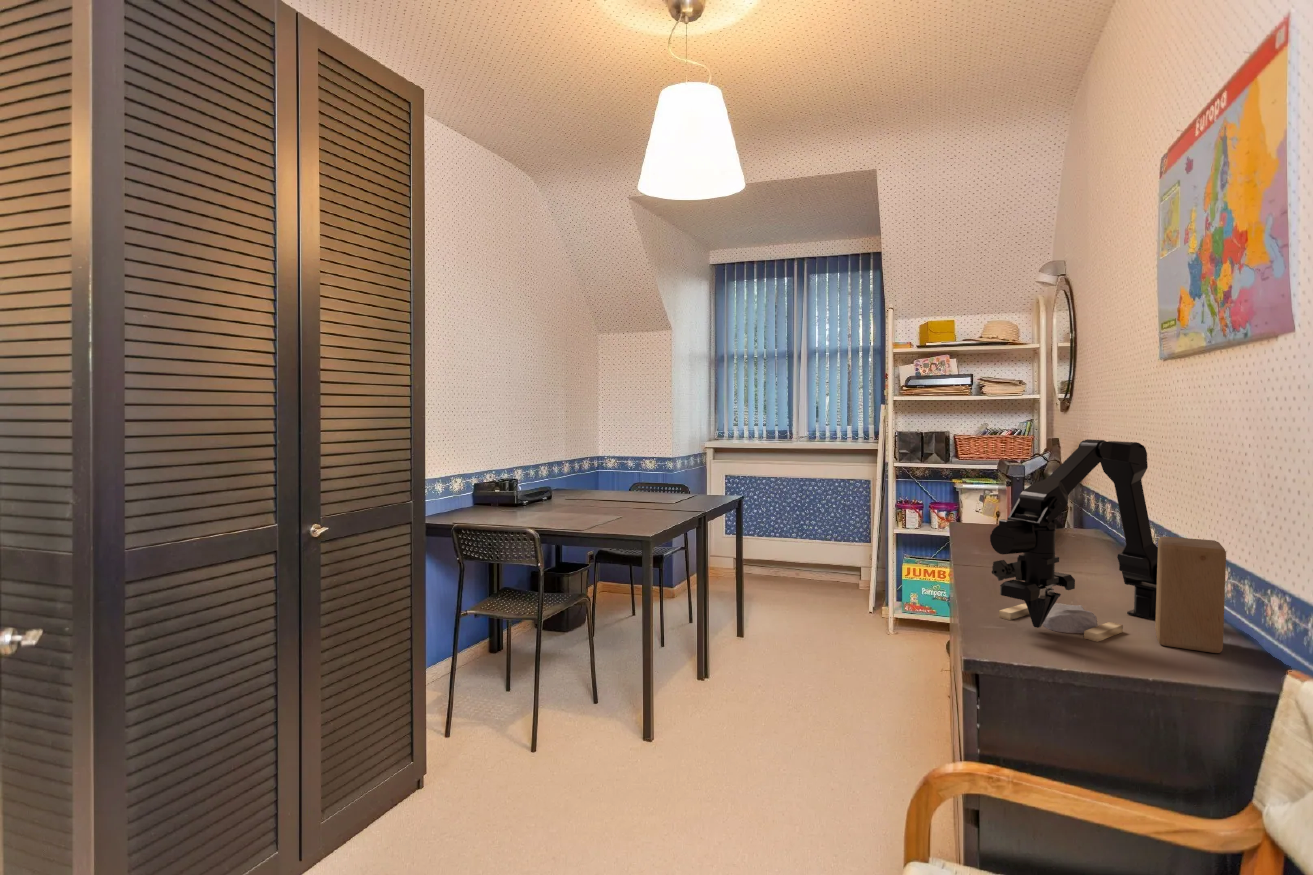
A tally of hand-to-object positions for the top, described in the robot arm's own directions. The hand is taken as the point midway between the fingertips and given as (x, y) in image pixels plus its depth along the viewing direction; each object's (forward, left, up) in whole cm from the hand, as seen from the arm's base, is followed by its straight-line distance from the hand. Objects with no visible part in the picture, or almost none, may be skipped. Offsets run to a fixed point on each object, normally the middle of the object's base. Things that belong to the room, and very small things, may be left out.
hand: (1037, 627), depth 148 cm
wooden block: (-17, +20, -1) cm, 27 cm away
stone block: (-10, +1, -2) cm, 10 cm away
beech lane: (-9, 0, -1) cm, 9 cm away
